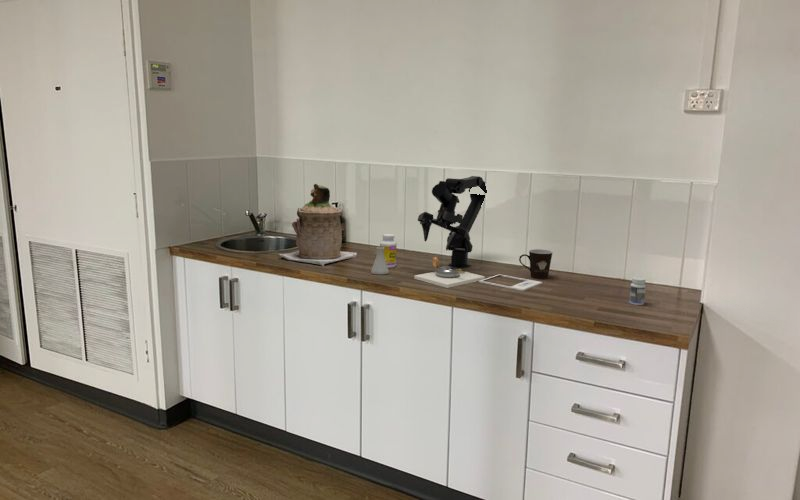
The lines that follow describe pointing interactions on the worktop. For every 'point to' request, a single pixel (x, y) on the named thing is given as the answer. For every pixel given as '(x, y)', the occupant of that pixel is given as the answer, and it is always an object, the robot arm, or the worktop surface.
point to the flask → (380, 263)
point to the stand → (449, 279)
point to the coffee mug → (538, 263)
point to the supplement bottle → (389, 250)
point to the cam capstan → (445, 269)
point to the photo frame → (520, 286)
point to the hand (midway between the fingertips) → (436, 245)
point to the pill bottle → (637, 291)
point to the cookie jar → (318, 231)
